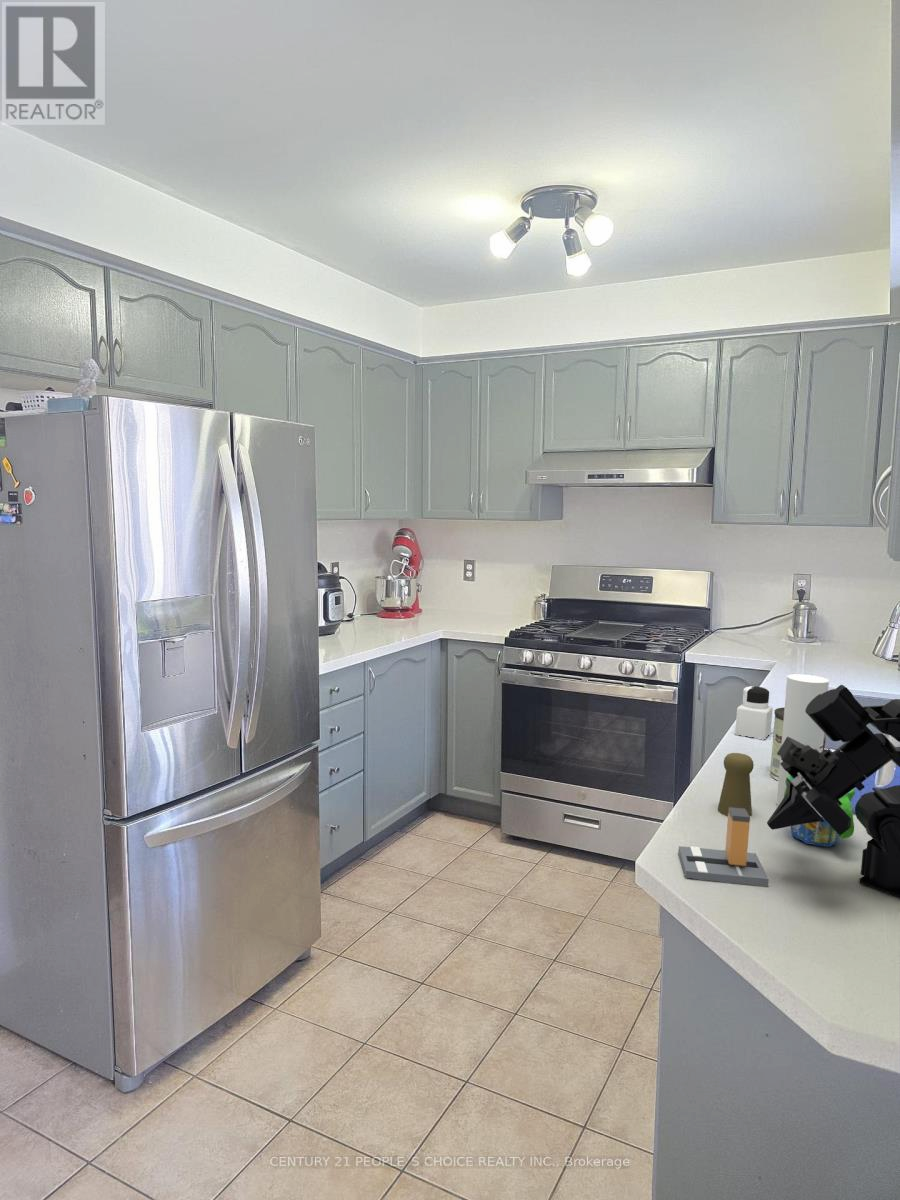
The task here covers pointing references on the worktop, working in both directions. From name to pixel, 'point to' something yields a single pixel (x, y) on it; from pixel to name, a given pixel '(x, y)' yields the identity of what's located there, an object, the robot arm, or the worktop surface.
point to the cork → (736, 783)
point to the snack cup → (823, 826)
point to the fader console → (720, 867)
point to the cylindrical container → (800, 717)
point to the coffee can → (779, 742)
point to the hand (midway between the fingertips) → (769, 826)
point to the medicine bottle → (754, 713)
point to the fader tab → (737, 836)
